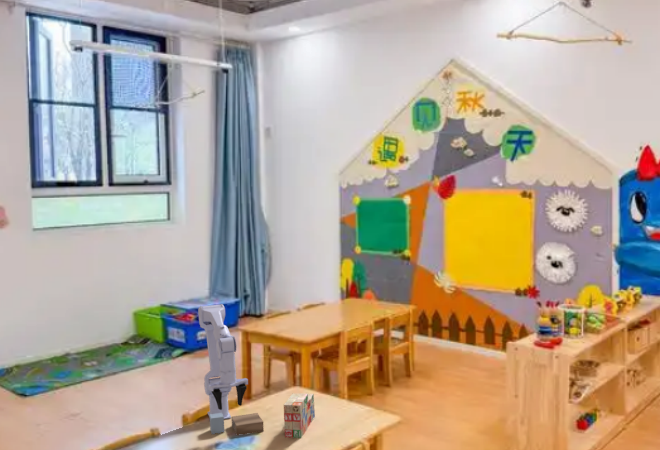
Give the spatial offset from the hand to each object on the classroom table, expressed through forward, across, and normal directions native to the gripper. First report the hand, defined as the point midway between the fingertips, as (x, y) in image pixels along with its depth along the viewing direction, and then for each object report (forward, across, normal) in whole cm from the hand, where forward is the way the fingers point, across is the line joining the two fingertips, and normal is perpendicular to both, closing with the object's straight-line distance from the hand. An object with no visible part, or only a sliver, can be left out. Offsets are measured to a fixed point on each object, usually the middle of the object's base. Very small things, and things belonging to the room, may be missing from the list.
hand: (230, 406), depth 247 cm
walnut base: (+10, +7, +2) cm, 13 cm away
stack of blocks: (+11, +24, -8) cm, 28 cm away
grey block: (+10, -3, +6) cm, 12 cm away
